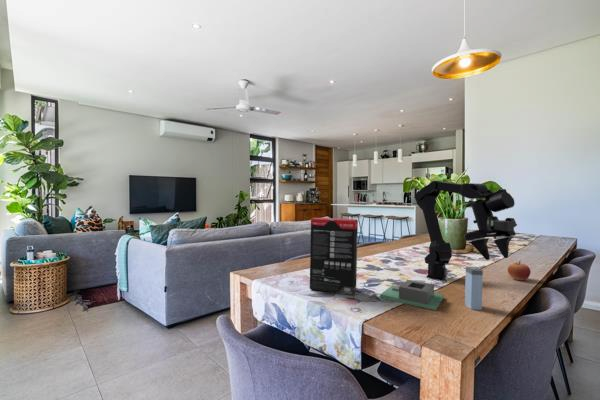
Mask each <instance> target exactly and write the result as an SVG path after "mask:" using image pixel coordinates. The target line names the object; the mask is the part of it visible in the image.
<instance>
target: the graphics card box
mask: <svg viewBox="0 0 600 400" xmlns="http://www.w3.org/2000/svg"><path fill="white" fill-rule="evenodd" d="M358 226H359V219H356V218H355V219H354V218H353V219H351V218H338V217H337V218H334V217H333V218H332V217H311V218H310V250H309V251H310V252H309V253H310V256H309V258H310V259H309V289H310V290H314V291H320V290H321V292H327V291H328V292H330V293H334V294H335V293H336V294H342V295H349V296H354V294H355V293H356V290H357V270H358V269H357V268H358V267H357V266H358V233H359V232H358Z"/></svg>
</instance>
